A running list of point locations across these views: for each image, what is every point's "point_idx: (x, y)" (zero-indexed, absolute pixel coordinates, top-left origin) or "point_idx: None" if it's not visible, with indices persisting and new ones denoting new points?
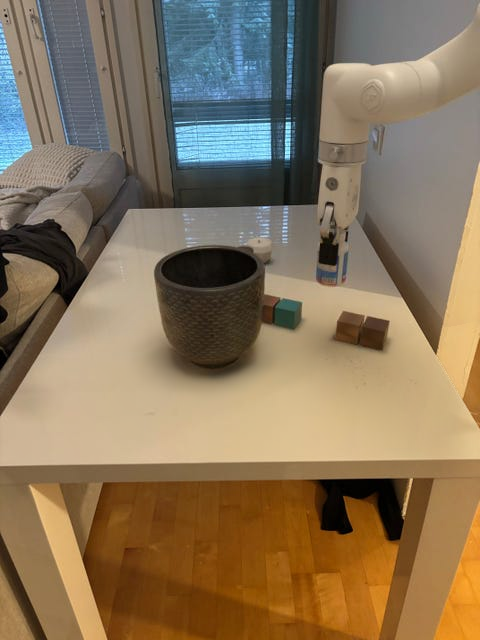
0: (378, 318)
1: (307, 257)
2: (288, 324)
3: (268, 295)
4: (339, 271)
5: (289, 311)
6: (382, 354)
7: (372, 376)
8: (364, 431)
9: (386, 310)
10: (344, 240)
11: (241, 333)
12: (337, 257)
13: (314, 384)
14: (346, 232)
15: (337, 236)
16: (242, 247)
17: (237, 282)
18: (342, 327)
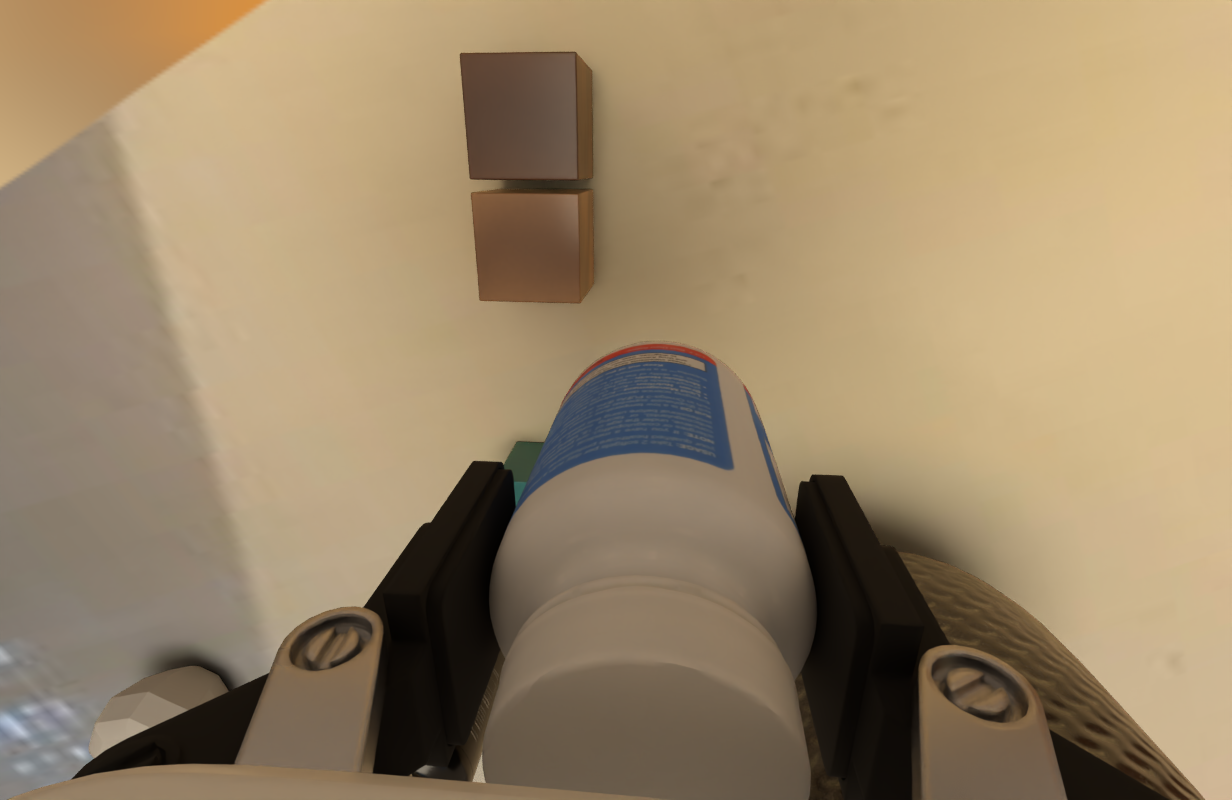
0: (466, 118)
1: (49, 550)
2: None
3: None
4: (744, 415)
5: None
6: (618, 61)
7: (797, 65)
8: (1176, 5)
9: (254, 128)
10: (476, 549)
11: (1045, 638)
12: (839, 512)
13: (918, 275)
14: (422, 604)
15: (987, 751)
16: None
17: None
18: (584, 270)
